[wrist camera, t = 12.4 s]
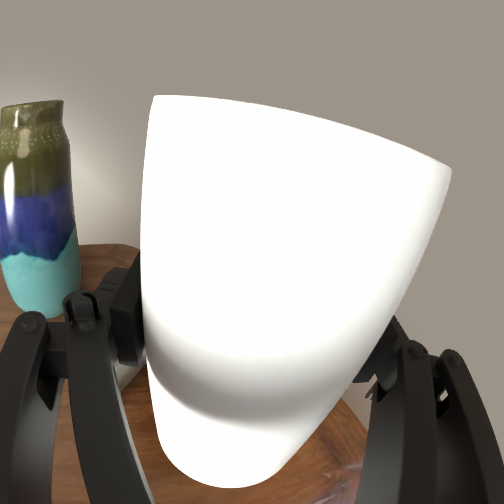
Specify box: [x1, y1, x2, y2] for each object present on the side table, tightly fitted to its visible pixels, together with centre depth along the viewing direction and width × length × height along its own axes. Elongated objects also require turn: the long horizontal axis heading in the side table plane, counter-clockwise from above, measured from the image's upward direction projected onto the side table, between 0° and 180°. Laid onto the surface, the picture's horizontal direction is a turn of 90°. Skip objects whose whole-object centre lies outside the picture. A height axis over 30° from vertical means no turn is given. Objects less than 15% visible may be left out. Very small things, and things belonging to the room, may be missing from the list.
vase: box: [0, 100, 82, 319], centre depth 31 cm, size 14×14×31 cm
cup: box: [141, 95, 452, 488], centre depth 11 cm, size 8×8×16 cm
